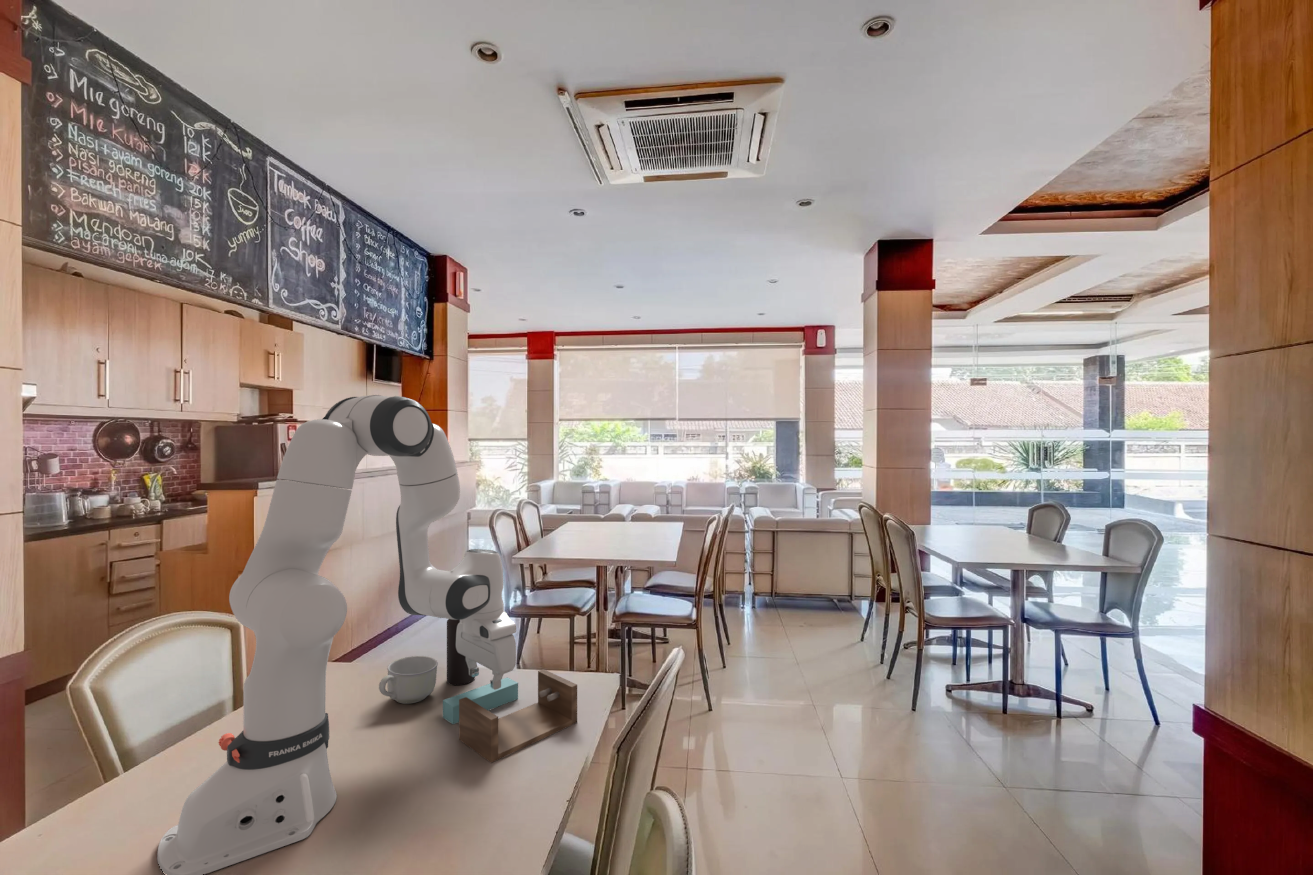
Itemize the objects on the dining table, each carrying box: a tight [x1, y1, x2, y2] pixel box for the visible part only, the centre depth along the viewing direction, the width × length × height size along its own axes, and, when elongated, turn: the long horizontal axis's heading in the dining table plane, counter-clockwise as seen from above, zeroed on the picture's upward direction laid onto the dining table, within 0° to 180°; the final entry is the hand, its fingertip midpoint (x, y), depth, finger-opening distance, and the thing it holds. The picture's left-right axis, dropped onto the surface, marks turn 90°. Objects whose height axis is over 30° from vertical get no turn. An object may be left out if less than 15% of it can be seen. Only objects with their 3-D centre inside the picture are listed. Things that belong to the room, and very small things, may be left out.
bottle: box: [446, 619, 476, 686], centre depth 140 cm, size 7×7×20 cm
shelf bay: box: [458, 668, 578, 764], centre depth 116 cm, size 20×12×8 cm, turn 137°
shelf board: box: [442, 677, 519, 725], centre depth 126 cm, size 16×4×4 cm, turn 137°
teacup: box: [378, 655, 439, 705], centre depth 129 cm, size 14×11×8 cm
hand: (484, 681), depth 126 cm, fingers open, 8 cm apart
